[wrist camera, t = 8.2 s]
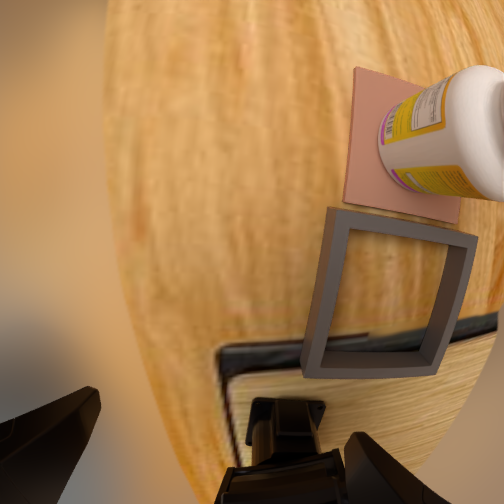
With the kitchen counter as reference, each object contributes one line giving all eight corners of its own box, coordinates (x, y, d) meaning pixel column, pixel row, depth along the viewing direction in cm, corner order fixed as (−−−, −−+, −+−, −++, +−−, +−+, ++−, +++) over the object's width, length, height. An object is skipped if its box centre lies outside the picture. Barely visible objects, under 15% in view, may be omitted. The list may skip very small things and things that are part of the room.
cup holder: (423, 360, 22) (435, 374, 20) (299, 359, 22) (303, 378, 20) (460, 231, 20) (478, 236, 17) (327, 206, 20) (336, 209, 17)
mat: (453, 223, 20) (457, 224, 19) (342, 201, 19) (344, 202, 19) (461, 106, 17) (465, 105, 17) (353, 69, 17) (356, 66, 17)
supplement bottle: (457, 182, 18) (590, 196, 6) (389, 202, 19) (530, 233, 6) (433, 99, 17) (556, 54, 4) (361, 110, 17) (479, 35, 5)
